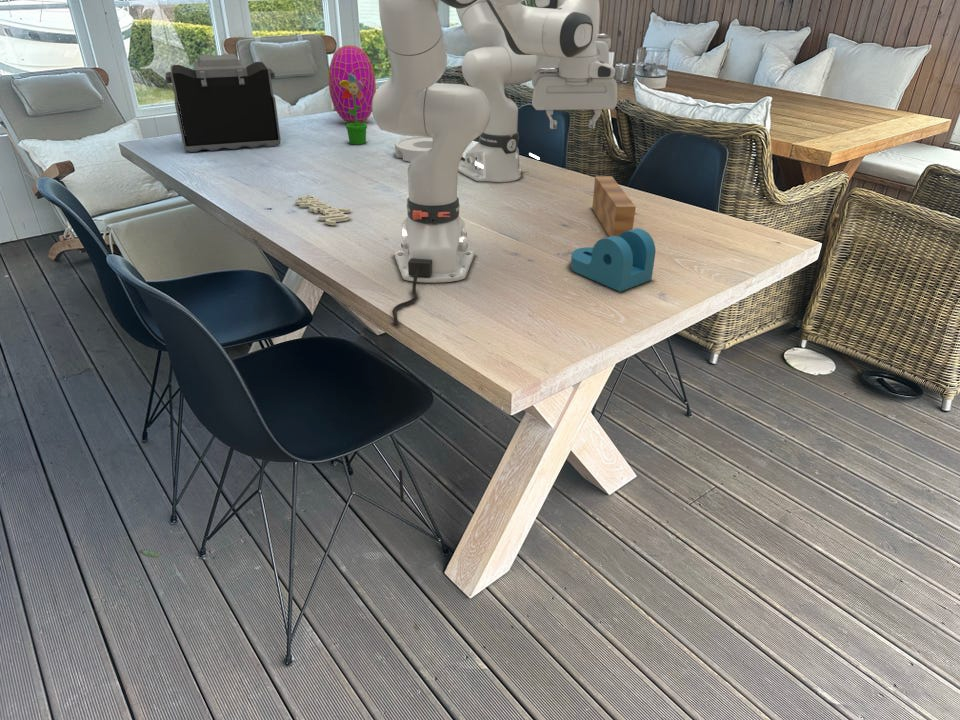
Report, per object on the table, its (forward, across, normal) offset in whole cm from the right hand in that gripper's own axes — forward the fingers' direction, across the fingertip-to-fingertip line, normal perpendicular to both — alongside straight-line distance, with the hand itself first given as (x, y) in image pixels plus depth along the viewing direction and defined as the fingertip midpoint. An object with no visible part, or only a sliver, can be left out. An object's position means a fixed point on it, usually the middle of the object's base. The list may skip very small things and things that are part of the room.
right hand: (569, 88), depth 189 cm
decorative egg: (+31, +72, -107) cm, 133 cm away
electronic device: (+31, +114, -70) cm, 138 cm away
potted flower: (+31, +67, -70) cm, 102 cm away
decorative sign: (+31, +68, +10) cm, 76 cm away
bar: (+31, -10, +23) cm, 40 cm away
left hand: (+5, +3, +28) cm, 28 cm away
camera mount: (+31, -1, +56) cm, 64 cm away
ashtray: (+31, +40, -52) cm, 72 cm away
